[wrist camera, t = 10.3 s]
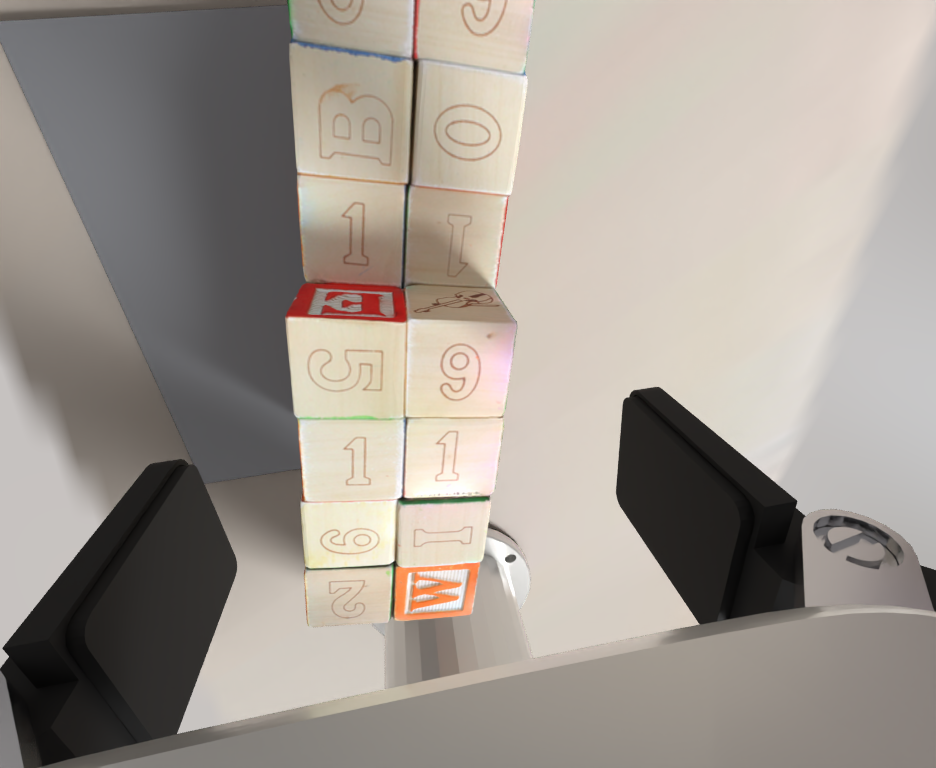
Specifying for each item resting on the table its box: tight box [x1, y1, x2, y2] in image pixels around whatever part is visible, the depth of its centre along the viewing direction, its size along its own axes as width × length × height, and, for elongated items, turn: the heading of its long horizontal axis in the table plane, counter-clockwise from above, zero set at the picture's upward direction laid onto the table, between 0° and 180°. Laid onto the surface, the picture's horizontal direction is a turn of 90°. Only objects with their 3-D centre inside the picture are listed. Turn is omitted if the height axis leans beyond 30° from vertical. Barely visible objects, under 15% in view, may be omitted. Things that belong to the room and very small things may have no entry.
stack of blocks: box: [285, 0, 535, 627], centre depth 18 cm, size 21×6×12 cm, turn 174°
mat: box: [0, 5, 306, 484], centre depth 23 cm, size 22×16×1 cm
